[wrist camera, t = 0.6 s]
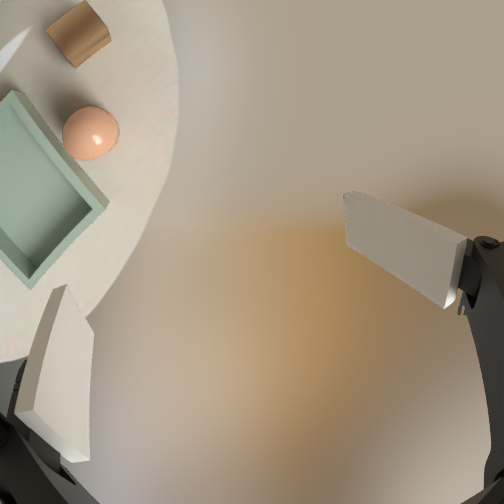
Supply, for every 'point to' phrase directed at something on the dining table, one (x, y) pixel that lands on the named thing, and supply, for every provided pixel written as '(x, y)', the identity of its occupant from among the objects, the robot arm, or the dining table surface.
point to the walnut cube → (79, 33)
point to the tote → (39, 192)
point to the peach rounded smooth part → (90, 133)
